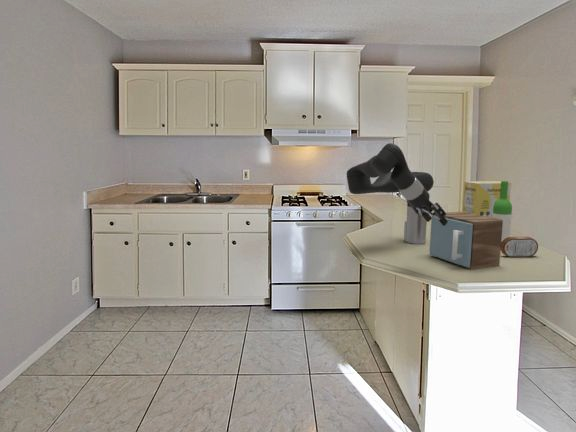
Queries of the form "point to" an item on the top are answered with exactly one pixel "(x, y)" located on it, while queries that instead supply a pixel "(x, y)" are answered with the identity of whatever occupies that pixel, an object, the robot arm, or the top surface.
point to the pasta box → (482, 197)
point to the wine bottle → (503, 210)
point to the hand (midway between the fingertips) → (437, 222)
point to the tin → (519, 246)
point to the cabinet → (482, 238)
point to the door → (451, 241)
